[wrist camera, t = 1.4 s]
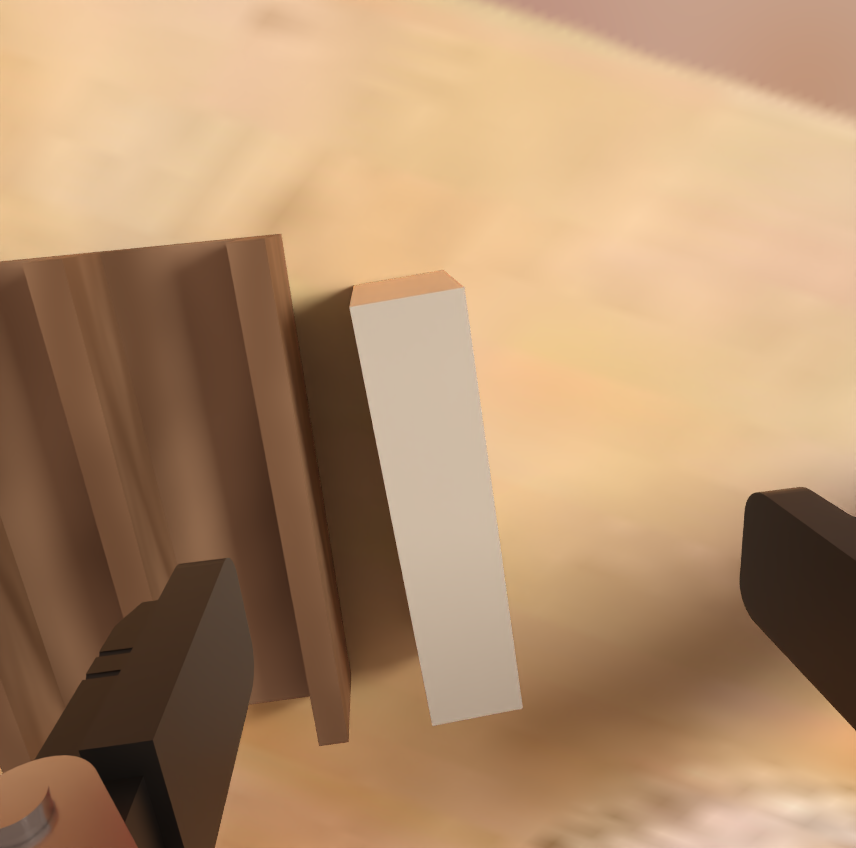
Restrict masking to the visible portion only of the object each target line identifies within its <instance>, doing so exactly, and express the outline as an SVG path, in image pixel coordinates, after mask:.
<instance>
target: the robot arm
mask: <svg viewBox="0 0 856 848" xmlns="http://www.w3.org/2000/svg"><path fill="white" fill-rule="evenodd" d="M740 590H741V595H742V599H743V602H744V605H745V607H746V610H747V612H748V613H749V615H750V617H751V618H752V620H753V621H754V622H755V623H756V624H757V625H758V626H759V627H760V628H761V630H762V631H763V632H764V633H765V634H766V635H767V636H768V637H769V638H770V639H771V640H772V641H773V642H774V643H775V645H776V646H777V647H778V648H779V649H780V650H781V651H782V652H783V653H784V654H785V655H786V656H787V657H788V658H789V660H790V661H791V662H792V663H793V664H794V665H795V666H796V667H797V668H798V669H799V670H800V671H801V672H802V673H803V675H804V676H805V677H806V678H807V679H808V680H809V681H810V682H811V683H812V684H813V685H814V686H815V687H816V688H817V690H818V691H819V692H820V693H821V694H822V695H823V696H824V697H825V698H826V699H827V700H828V701H829V702H830V703H831V705H832V706H833V707H834V708H835V709H836V710H837V711H838V712H839V713H840V714H841V715H842V716H843V717H844V718H845V720H846V721H847V722H848V723H849V724H850V725H851V726H852V727H853V728H854V729H855V730H856V517H853V516H851V515H849V514H847V513H846V512H844V511H843V510H841V509H839V508H838V507H836V506H835V505H833V504H832V503H830V502H828V501H827V500H825V499H824V498H822V497H821V496H819V495H818V494H816V493H814V492H813V491H811V490H809V489H808V488H804V487H797V488H789V489H781V490H773V491H765V492H757V493H753V494H752V495H751V496H750V497H749V498H748V500H747V502H746V506H745V514H744V528H743V541H742V555H741V568H740ZM253 680H254V655H253V646H252V641H251V636H250V632H249V627H248V622H247V618H246V613H245V608H244V604H243V599H242V594H241V590H240V585H239V580H238V576H237V571H236V568H235V565H234V563H233V561H232V560H231V559H230V558H222V559H214V560H206V561H198V562H190V563H182V564H178V565H177V566H176V567H175V569H174V571H173V573H172V575H171V576H170V578H169V580H168V582H167V584H166V586H165V588H164V590H163V592H162V593H161V595H160V597H159V599H158V600H155V601H147V602H142V603H141V604H140V605H138V606H137V607H136V608H135V609H134V610H133V611H131V612H130V613H129V614H128V615H127V616H126V617H124V618H123V619H122V620H121V621H120V622H119V623H117V624H116V625H115V626H114V628H113V630H112V631H111V633H110V635H109V636H108V638H107V640H106V641H105V643H104V645H103V646H102V648H101V650H100V651H99V657H96V658H95V660H94V661H93V663H92V665H91V666H90V668H89V670H88V671H87V673H86V680H82V681H81V683H80V685H79V686H78V688H77V690H76V691H75V693H74V695H73V696H72V698H71V700H70V701H69V703H68V705H67V706H66V708H65V710H64V711H63V713H62V715H61V716H60V718H59V720H58V721H57V723H56V725H55V726H54V728H53V730H52V731H51V733H50V735H49V736H48V738H47V740H46V741H45V743H44V745H43V746H42V748H41V750H40V751H39V753H38V755H37V756H36V758H35V760H34V761H30V762H28V763H25V764H23V765H20V766H17V767H15V768H13V769H11V770H9V771H7V772H5V773H3V774H2V775H0V848H215V844H216V840H217V836H218V831H219V827H220V823H221V819H222V815H223V810H224V806H225V802H226V798H227V793H228V789H229V785H230V781H231V777H232V772H233V768H234V764H235V760H236V755H237V751H238V747H239V743H240V738H241V734H242V730H243V726H244V722H245V717H246V713H247V709H248V705H249V700H250V696H251V692H252V687H253Z"/></svg>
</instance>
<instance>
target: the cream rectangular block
mask: <svg viewBox="0 0 856 848" xmlns="http://www.w3.org/2000/svg"><path fill="white" fill-rule="evenodd" d="M349 308H350V313H351V318H352V323H353V328H354V333H355V338H356V343H357V348H358V353H359V358H360V363H361V368H362V374H363V379H364V384H365V389H366V394H367V399H368V404H369V409H370V414H371V419H372V424H373V429H374V434H375V439H376V444H377V449H378V454H379V459H380V464H381V469H382V474H383V479H384V484H385V490H386V495H387V500H388V505H389V510H390V515H391V520H392V525H393V530H394V535H395V540H396V545H397V550H398V555H399V560H400V565H401V570H402V575H403V580H404V585H405V590H406V595H407V601H408V606H409V611H410V616H411V621H412V626H413V631H414V636H415V641H416V646H417V651H418V656H419V661H420V666H421V671H422V676H423V681H424V686H425V691H426V696H427V701H428V706H429V711H430V717H431V722H432V726H435V725H441V724H446V723H451V722H456V721H461V720H466V719H472V718H477V717H482V716H487V715H492V714H497V713H503V712H508V711H513V710H518V709H523V705H522V698H521V691H520V684H519V677H518V669H517V662H516V655H515V648H514V641H513V633H512V626H511V619H510V612H509V605H508V597H507V590H506V583H505V576H504V569H503V561H502V554H501V547H500V540H499V533H498V525H497V518H496V511H495V504H494V497H493V490H492V482H491V475H490V468H489V461H488V454H487V446H486V439H485V432H484V425H483V418H482V410H481V403H480V396H479V389H478V382H477V374H476V367H475V360H474V353H473V346H472V338H471V331H470V324H469V317H468V310H467V303H466V295H465V288H464V286H462V285H461V284H460V283H459V282H457V281H456V280H455V279H454V278H453V277H451V276H450V275H449V274H448V273H447V272H445V271H444V270H440V271H434V272H428V273H423V274H417V275H411V276H405V277H399V278H394V279H388V280H382V281H376V282H370V283H364V284H359V285H354V287H353V292H352V297H351V301H350V306H349Z"/></svg>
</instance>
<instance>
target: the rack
mask: <svg viewBox="0 0 856 848" xmlns="http://www.w3.org/2000/svg"><path fill="white" fill-rule="evenodd" d="M222 558H230V559H231V560H232V561H233V563H234V565H235V568H236V571H237V576H238V580H239V585H240V590H241V594H242V599H243V604H244V608H245V613H246V618H247V622H248V627H249V632H250V636H251V641H252V646H253V655H254V680H253V687H252V692H251V696H250V700H249V704H256V703H264V702H271V701H278V700H286V699H293V698H301V697H308V696H310V699H311V704H312V710H313V715H314V721H315V726H316V731H317V737H318V742H319V746H323V745H331V744H338V743H345V742H348V741H349V716H350V691H351V672H350V666H349V659H348V653H347V647H346V640H345V634H344V628H343V621H342V615H341V609H340V603H339V596H338V590H337V584H336V577H335V571H334V565H333V558H332V552H331V546H330V539H329V533H328V527H327V521H326V514H325V508H324V502H323V495H322V489H321V483H320V476H319V470H318V464H317V457H316V451H315V445H314V439H313V432H312V426H311V420H310V413H309V407H308V401H307V394H306V388H305V382H304V375H303V369H302V363H301V357H300V350H299V344H298V338H297V331H296V325H295V319H294V312H293V306H292V300H291V293H290V287H289V281H288V275H287V268H286V262H285V256H284V249H283V243H282V237H281V234H276V235H265V236H255V237H245V238H235V239H225V240H215V241H205V242H194V243H184V244H174V245H164V246H154V247H144V248H134V249H123V250H113V251H103V252H93V253H83V254H73V255H62V256H52V257H42V258H32V259H22V260H12V261H2V262H0V767H1V769H2V772H3V773H5V772H7V771H9V770H11V769H13V768H15V767H17V766H20V765H23V764H25V763H28V762H30V761H34V760H35V758H36V756H37V755H38V753H39V751H40V750H41V748H42V746H43V745H44V743H45V741H46V740H47V738H48V736H49V735H50V733H51V731H52V730H53V728H54V726H55V725H56V723H57V721H58V720H59V718H60V716H61V715H62V713H63V711H64V710H65V708H66V706H67V705H68V703H69V701H70V700H71V698H72V696H73V695H74V693H75V691H76V690H77V688H78V686H79V685H80V683H81V681H82V680H86V673H87V671H88V670H89V668H90V666H91V665H92V663H93V661H94V660H95V658H96V657H99V651H100V650H101V648H102V646H103V645H104V643H105V641H106V640H107V638H108V636H109V635H110V633H111V631H112V630H113V628H114V626H115V625H116V624H117V623H119V622H120V621H121V620H122V619H123V618H124V617H126V616H127V615H128V614H129V613H130V612H131V611H133V610H134V609H135V608H136V607H137V606H138V605H140V604H141V603H142V602H147V601H155V600H158V599H159V597H160V595H161V593H162V592H163V590H164V588H165V586H166V584H167V582H168V580H169V578H170V576H171V575H172V573H173V571H174V569H175V567H176V566H177V565H178V564H182V563H190V562H198V561H206V560H214V559H222Z"/></svg>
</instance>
